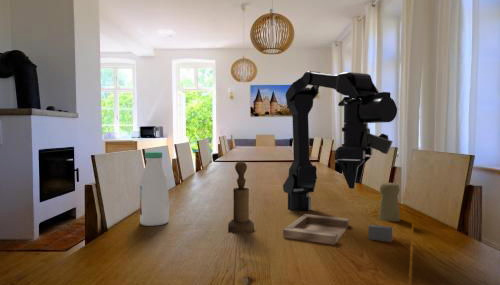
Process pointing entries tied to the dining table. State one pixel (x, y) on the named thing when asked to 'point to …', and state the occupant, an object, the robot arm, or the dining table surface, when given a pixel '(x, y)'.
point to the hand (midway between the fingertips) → (354, 185)
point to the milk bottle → (153, 191)
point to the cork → (389, 202)
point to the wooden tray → (317, 229)
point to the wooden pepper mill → (241, 204)
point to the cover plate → (380, 233)
